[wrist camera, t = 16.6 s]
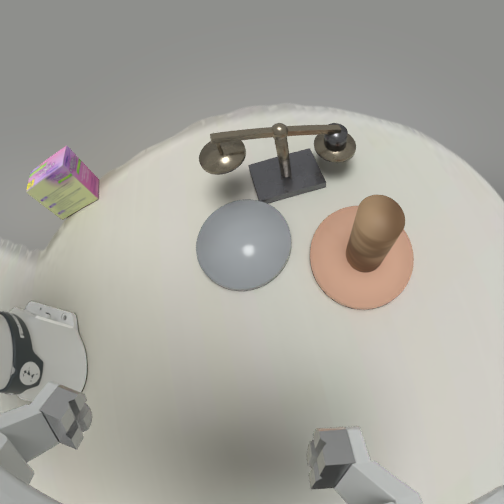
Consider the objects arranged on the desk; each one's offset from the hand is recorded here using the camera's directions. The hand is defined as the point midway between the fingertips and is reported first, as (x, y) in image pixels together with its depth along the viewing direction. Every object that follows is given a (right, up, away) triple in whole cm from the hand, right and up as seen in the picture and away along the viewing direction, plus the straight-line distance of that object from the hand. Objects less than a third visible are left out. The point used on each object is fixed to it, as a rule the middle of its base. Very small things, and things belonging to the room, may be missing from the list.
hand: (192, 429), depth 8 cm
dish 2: (+16, +5, +28) cm, 33 cm away
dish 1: (+1, +7, +32) cm, 32 cm away
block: (+16, +6, +27) cm, 32 cm away
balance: (+7, +17, +34) cm, 39 cm away
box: (-33, +17, +43) cm, 56 cm away
